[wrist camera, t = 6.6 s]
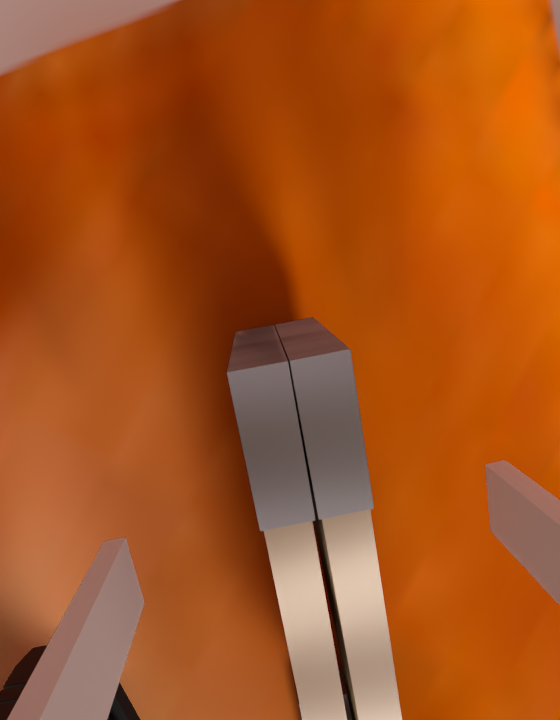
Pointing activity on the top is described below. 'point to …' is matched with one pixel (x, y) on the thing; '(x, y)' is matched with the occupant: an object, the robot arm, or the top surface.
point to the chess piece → (122, 707)
